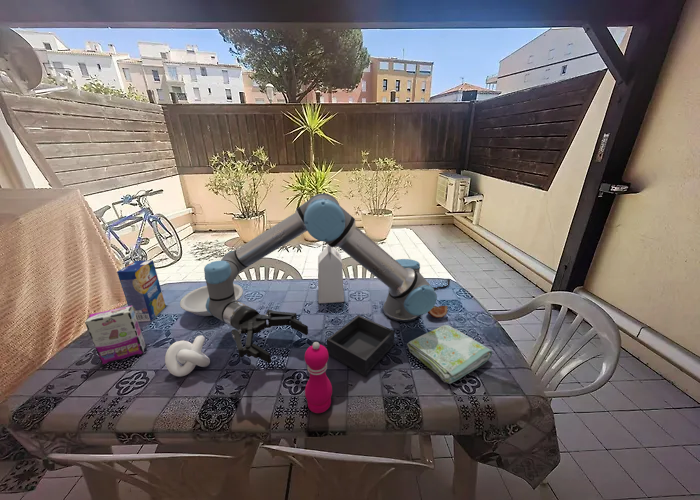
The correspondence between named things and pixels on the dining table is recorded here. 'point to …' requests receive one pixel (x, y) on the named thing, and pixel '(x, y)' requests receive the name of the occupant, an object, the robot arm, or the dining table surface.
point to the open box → (360, 344)
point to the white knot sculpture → (186, 356)
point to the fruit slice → (438, 311)
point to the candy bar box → (115, 334)
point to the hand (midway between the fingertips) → (289, 343)
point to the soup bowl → (202, 300)
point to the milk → (330, 276)
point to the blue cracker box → (142, 289)
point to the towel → (449, 353)
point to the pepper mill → (317, 379)
